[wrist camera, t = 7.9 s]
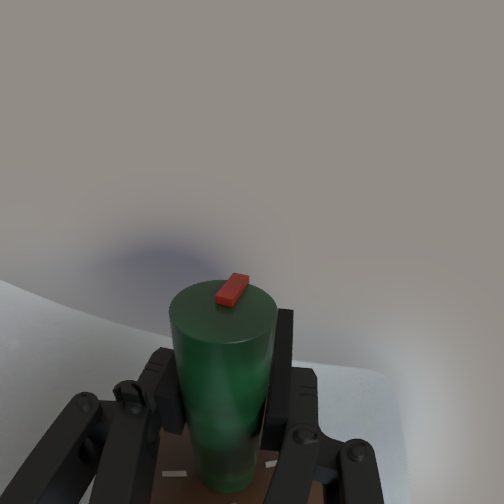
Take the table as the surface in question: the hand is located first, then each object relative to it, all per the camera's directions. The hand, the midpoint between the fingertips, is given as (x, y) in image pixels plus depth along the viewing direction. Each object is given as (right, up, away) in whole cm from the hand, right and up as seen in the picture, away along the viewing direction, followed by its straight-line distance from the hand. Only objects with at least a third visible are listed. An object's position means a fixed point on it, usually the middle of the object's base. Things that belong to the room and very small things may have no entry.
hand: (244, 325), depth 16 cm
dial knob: (-1, -9, -2) cm, 9 cm away
